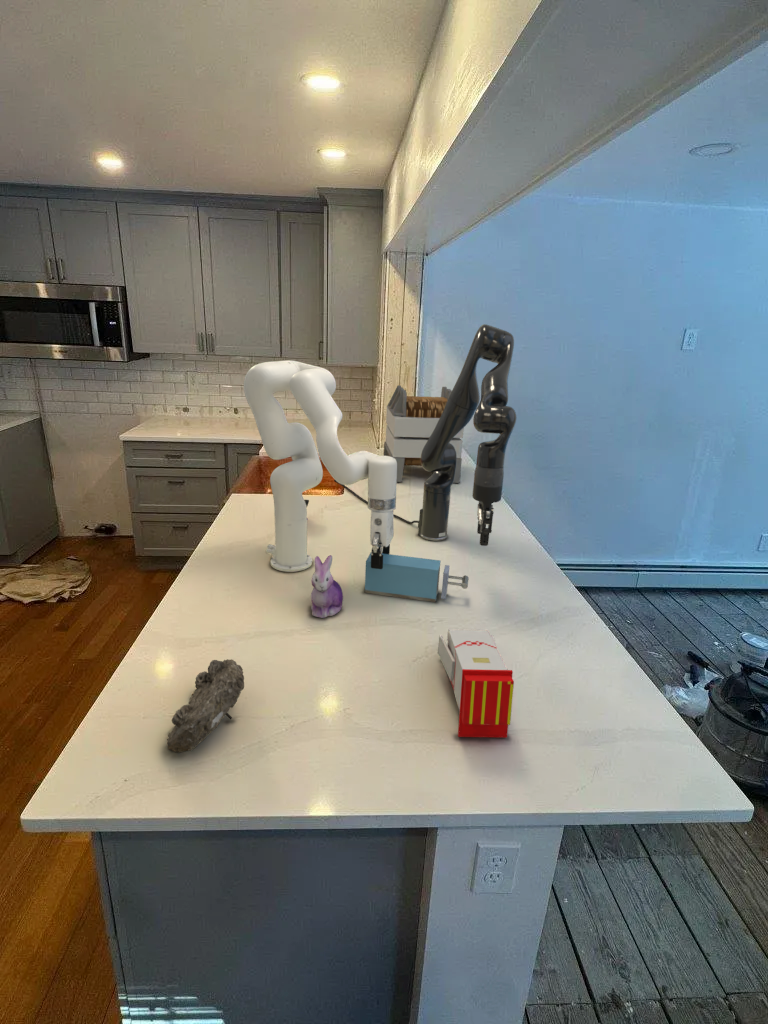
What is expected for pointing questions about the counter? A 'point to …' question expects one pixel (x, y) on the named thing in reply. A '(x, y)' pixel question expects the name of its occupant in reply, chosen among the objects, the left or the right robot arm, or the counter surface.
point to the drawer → (445, 582)
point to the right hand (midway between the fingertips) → (482, 539)
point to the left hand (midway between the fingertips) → (380, 561)
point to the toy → (478, 682)
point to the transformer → (415, 428)
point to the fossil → (206, 705)
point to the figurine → (325, 590)
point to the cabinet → (403, 577)
